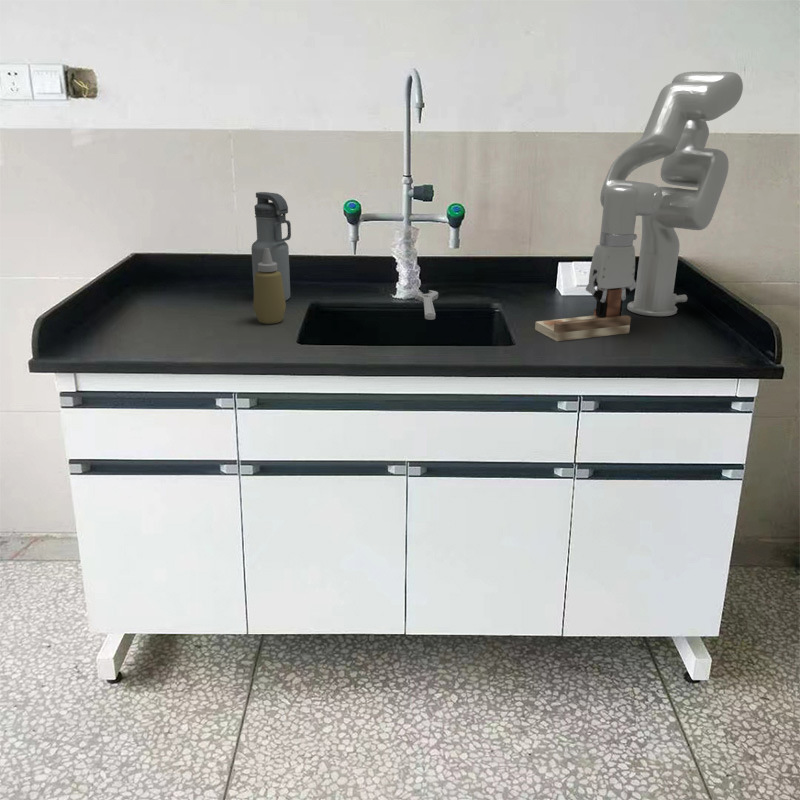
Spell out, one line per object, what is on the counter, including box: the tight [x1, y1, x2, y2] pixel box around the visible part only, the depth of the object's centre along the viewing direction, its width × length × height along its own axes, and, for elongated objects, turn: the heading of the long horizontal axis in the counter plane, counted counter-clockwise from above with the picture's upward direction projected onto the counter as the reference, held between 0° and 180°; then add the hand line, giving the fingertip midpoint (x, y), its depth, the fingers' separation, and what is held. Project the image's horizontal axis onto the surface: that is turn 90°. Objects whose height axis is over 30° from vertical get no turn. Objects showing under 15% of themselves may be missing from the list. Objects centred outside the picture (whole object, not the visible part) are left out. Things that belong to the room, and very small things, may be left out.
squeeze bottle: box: [252, 248, 287, 325], centre depth 199 cm, size 8×8×18 cm
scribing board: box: [534, 314, 632, 342], centre depth 196 cm, size 20×10×4 cm, turn 111°
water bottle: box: [250, 191, 292, 302], centre depth 217 cm, size 10×10×28 cm
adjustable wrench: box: [413, 289, 439, 321], centre depth 217 cm, size 25×6×2 cm, turn 176°
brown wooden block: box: [593, 288, 622, 318], centre depth 198 cm, size 4×6×8 cm, turn 21°
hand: (608, 315), depth 197 cm, fingers closed on brown wooden block, 3 cm apart
